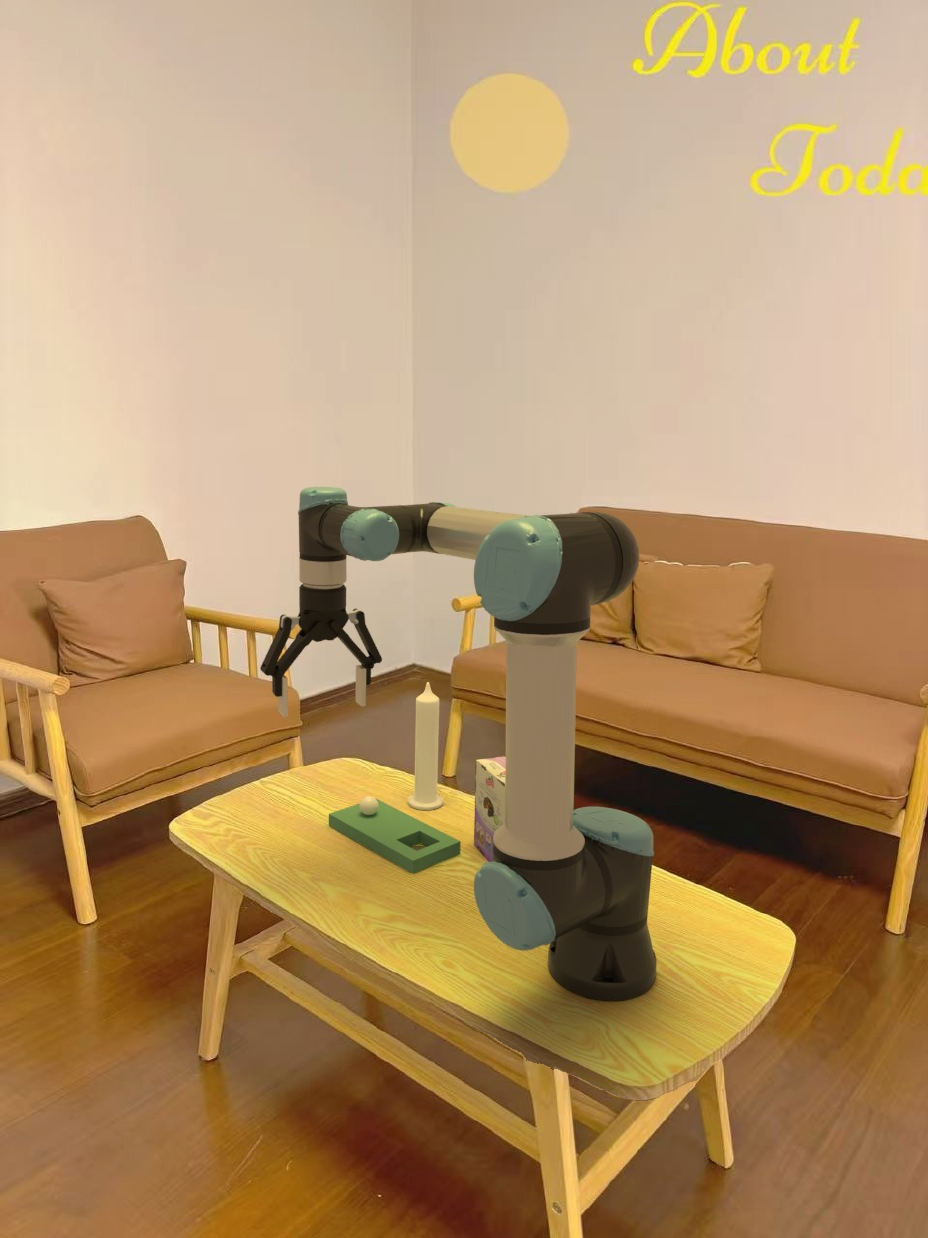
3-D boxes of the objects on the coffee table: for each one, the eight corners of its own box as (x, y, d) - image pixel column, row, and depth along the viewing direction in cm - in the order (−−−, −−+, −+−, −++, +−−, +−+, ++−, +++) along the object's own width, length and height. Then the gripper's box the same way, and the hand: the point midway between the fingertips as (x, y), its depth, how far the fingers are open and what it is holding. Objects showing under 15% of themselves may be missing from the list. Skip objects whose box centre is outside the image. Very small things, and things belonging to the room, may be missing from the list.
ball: (382, 814, 173) (382, 797, 172) (367, 820, 171) (367, 802, 170) (370, 808, 175) (370, 791, 175) (355, 814, 173) (355, 796, 172)
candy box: (534, 874, 158) (539, 783, 154) (503, 879, 156) (506, 788, 152) (501, 839, 170) (505, 754, 167) (471, 843, 168) (474, 758, 164)
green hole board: (460, 853, 164) (460, 841, 164) (412, 873, 157) (413, 860, 156) (375, 809, 181) (375, 798, 180) (328, 825, 173) (328, 813, 173)
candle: (403, 797, 187) (405, 678, 181) (437, 794, 189) (440, 675, 183) (412, 812, 180) (414, 688, 175) (447, 808, 182) (450, 686, 177)
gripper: (384, 575, 159) (382, 693, 164) (239, 584, 147) (242, 711, 152) (403, 583, 153) (400, 706, 158) (253, 593, 141) (255, 726, 146)
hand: (322, 709), depth 155 cm, fingers open, 13 cm apart
